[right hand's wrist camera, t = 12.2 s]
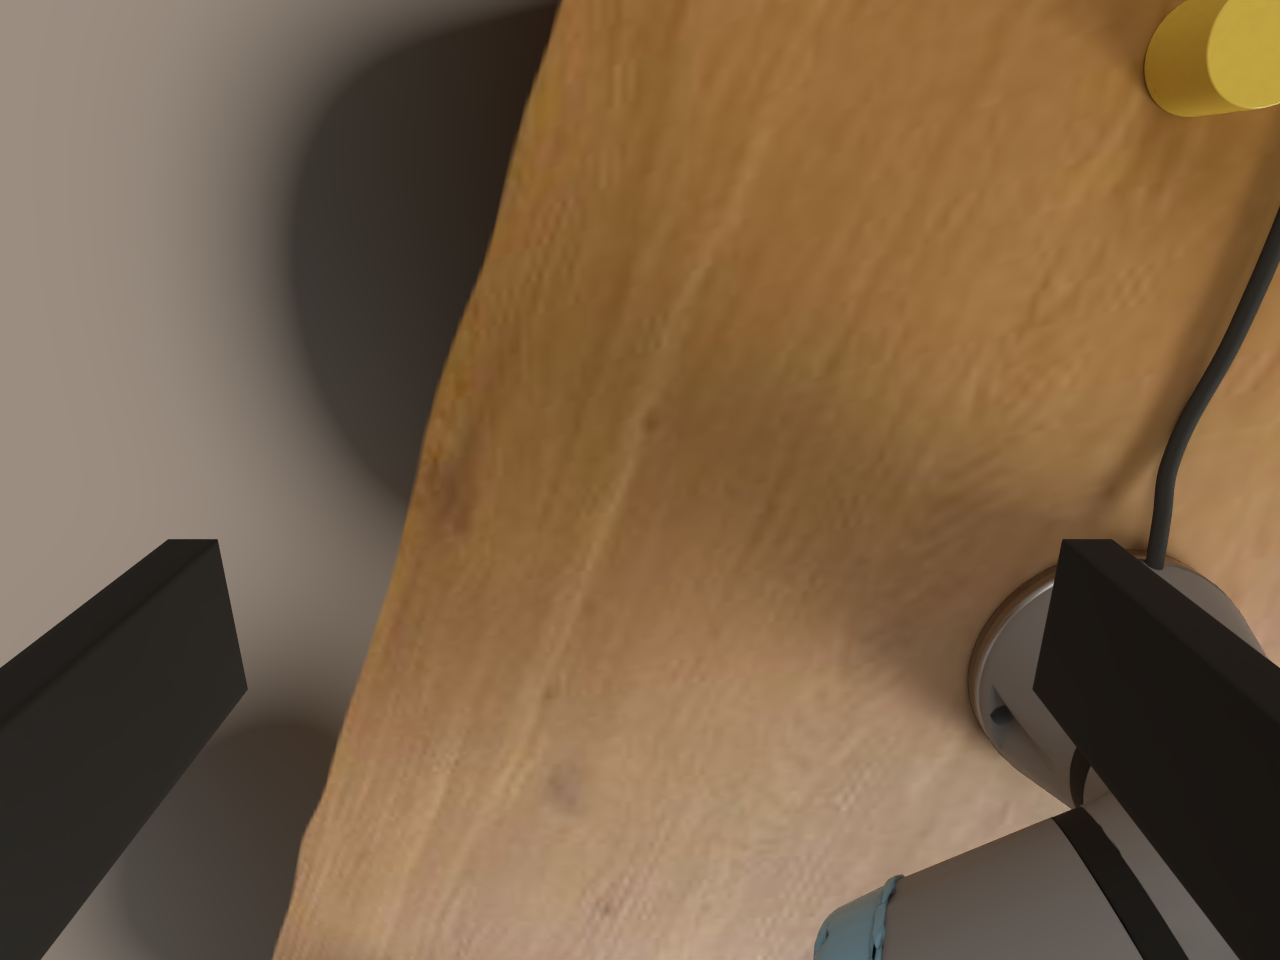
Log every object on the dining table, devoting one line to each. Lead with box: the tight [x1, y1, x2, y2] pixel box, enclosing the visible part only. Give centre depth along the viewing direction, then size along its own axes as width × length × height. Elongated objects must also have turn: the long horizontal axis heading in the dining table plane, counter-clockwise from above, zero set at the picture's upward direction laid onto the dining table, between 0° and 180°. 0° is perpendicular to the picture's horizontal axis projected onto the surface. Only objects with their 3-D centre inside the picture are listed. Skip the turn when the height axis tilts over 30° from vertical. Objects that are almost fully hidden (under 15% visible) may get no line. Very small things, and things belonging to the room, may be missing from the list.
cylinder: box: [1144, 0, 1280, 117], centre depth 35 cm, size 5×5×4 cm
